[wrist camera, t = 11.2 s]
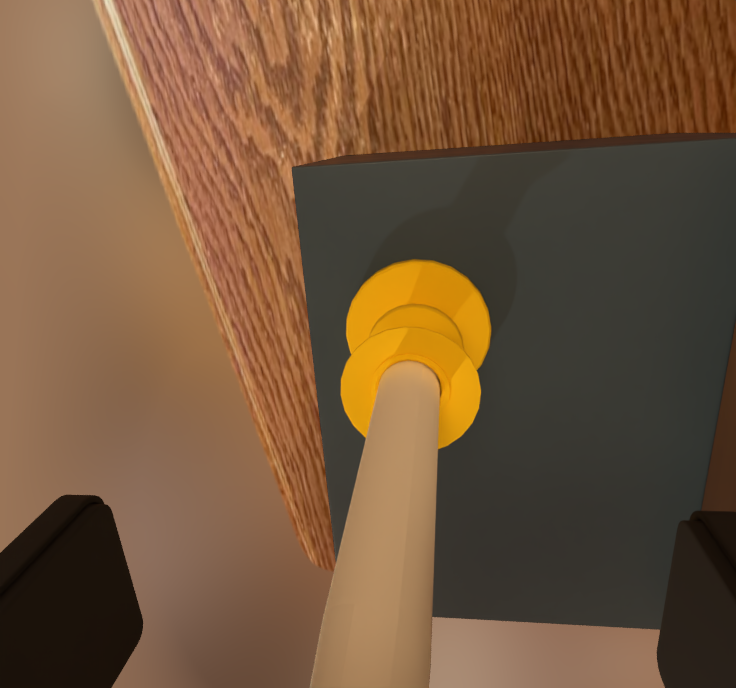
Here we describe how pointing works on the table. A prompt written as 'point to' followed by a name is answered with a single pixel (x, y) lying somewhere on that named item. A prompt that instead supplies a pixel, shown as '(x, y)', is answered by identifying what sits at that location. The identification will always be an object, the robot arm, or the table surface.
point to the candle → (399, 467)
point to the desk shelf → (551, 357)
